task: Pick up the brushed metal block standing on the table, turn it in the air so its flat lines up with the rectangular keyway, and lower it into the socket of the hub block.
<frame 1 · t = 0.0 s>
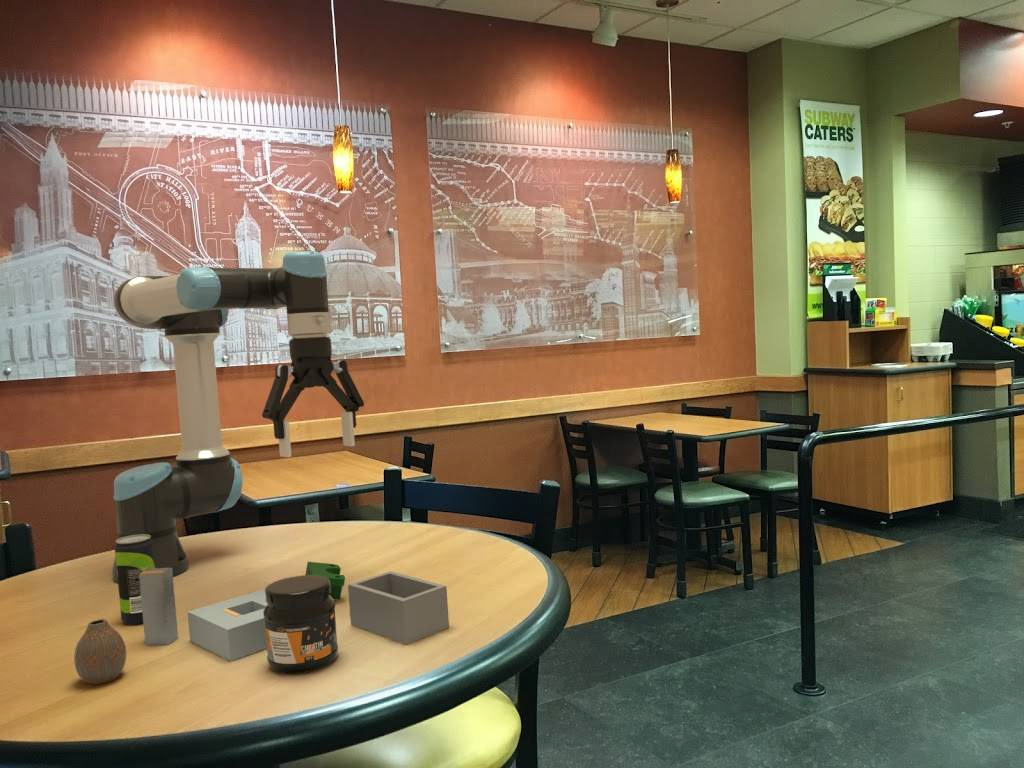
hand: (318, 451, 151), 28 cm above the table, fingers open, 13 cm apart
beverage can: (140, 620, 147), on the table
hub: (249, 637, 135), on the table
supplement container: (303, 662, 124), on the table
vase: (102, 680, 121), on the table
brushed metal block: (162, 641, 136), on the table
green mounting bracket: (325, 598, 154), on the table
gray hollow rectangular box: (399, 626, 136), on the table
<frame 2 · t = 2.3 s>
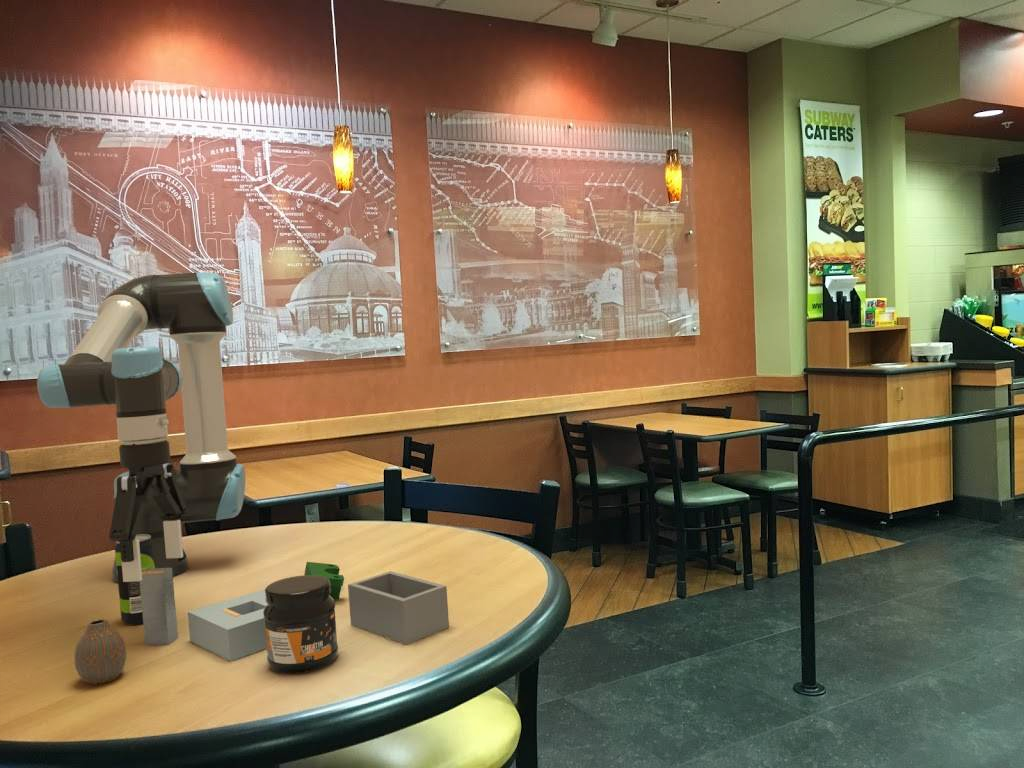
hand: (154, 568, 134), 12 cm above the table, fingers open, 13 cm apart
nothing on the table moved.
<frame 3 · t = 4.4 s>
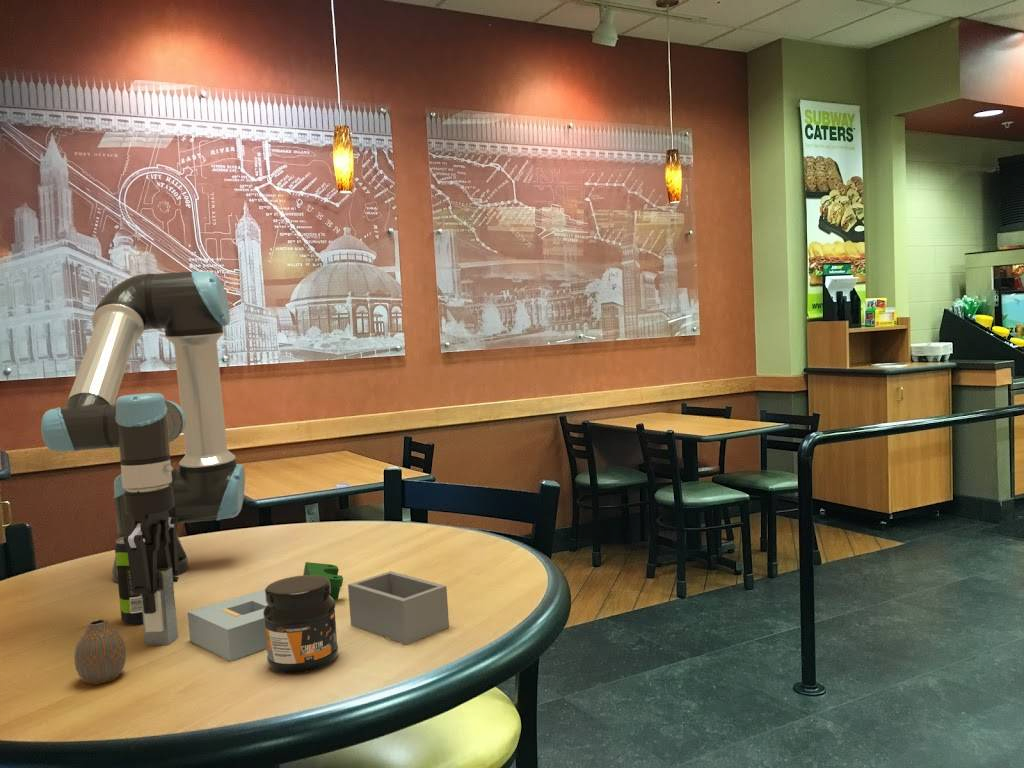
hand: (160, 626, 135), 3 cm above the table, fingers closed on brushed metal block, 3 cm apart
brushed metal block: (162, 641, 136), on the table, touching gripper
everything else where it was.
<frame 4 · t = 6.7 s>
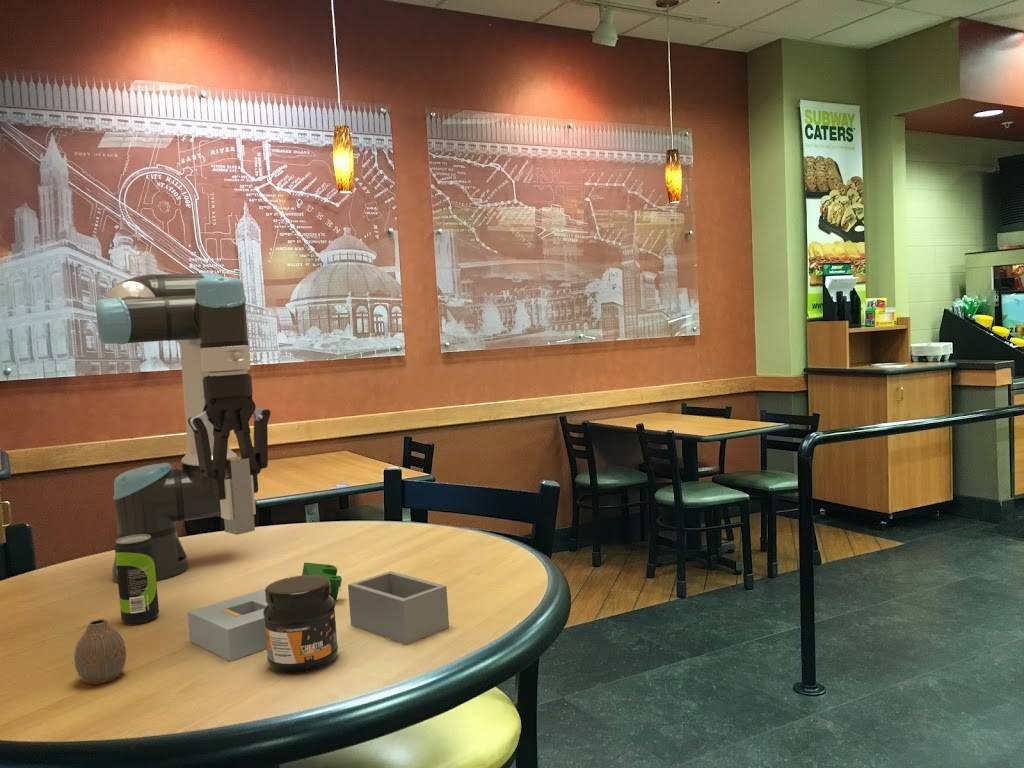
hand: (238, 515, 134), 21 cm above the table, fingers closed on brushed metal block, 3 cm apart
brushed metal block: (240, 531, 134), point 18 cm above the table, touching gripper
everything else where it was.
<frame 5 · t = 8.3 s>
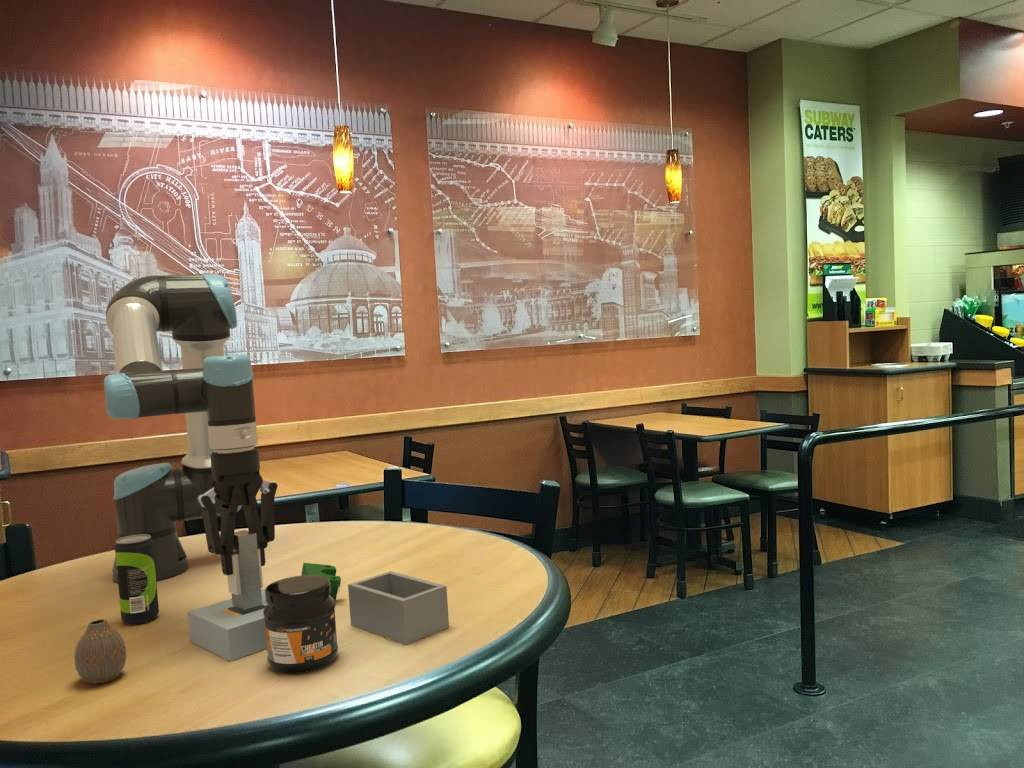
hand: (246, 589, 134), 8 cm above the table, fingers closed on brushed metal block, 3 cm apart
brushed metal block: (247, 604, 135), point 6 cm above the table, touching gripper
everything else where it was.
when the fingers open (6 cm above the table, at t = 9.5 s): brushed metal block drops 3 cm, resting on hub.
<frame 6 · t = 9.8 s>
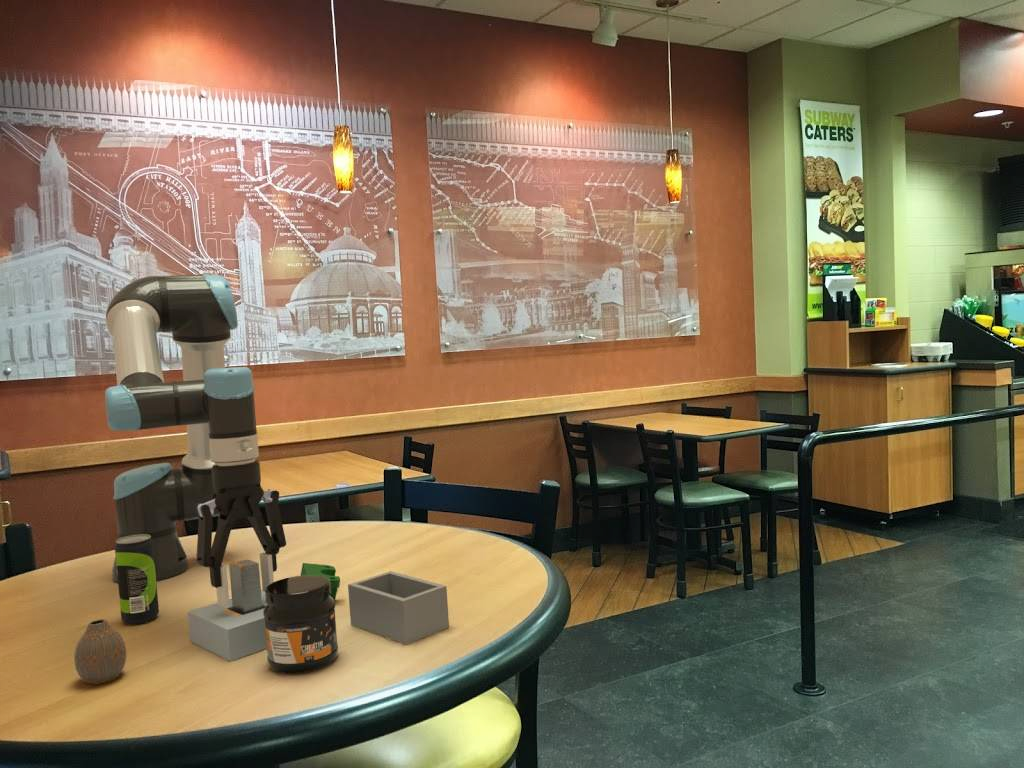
hand: (246, 598, 135), 7 cm above the table, fingers open, 7 cm apart
brushed metal block: (249, 634, 135), resting on hub
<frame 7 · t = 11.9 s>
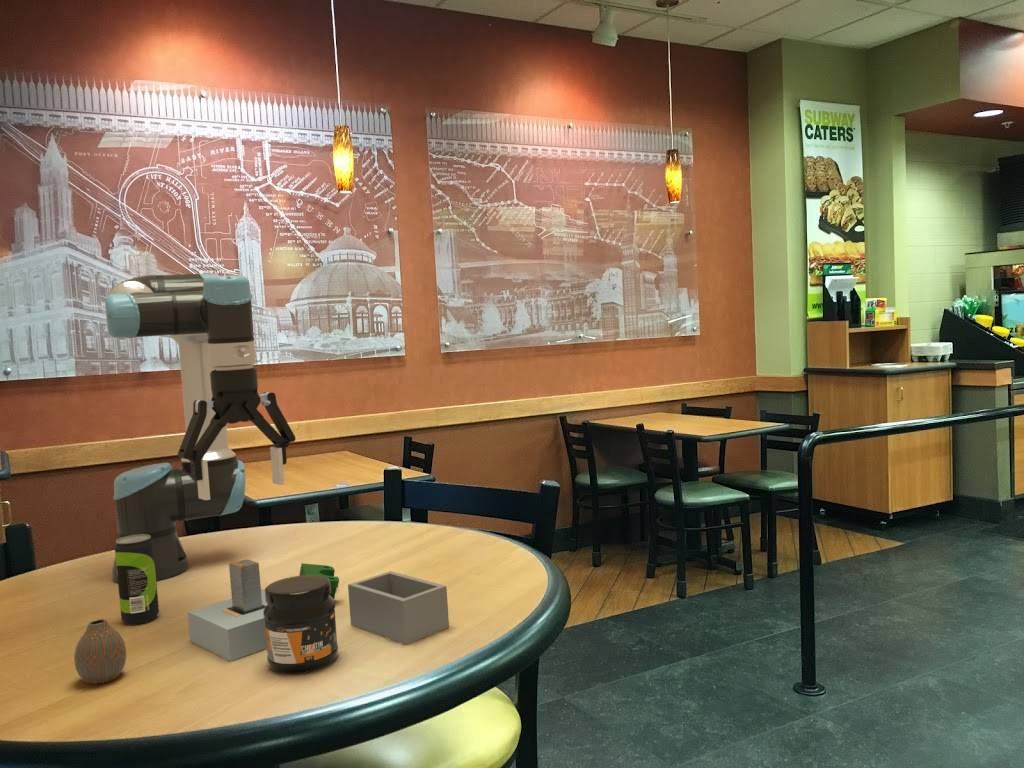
hand: (242, 491, 140), 23 cm above the table, fingers open, 13 cm apart
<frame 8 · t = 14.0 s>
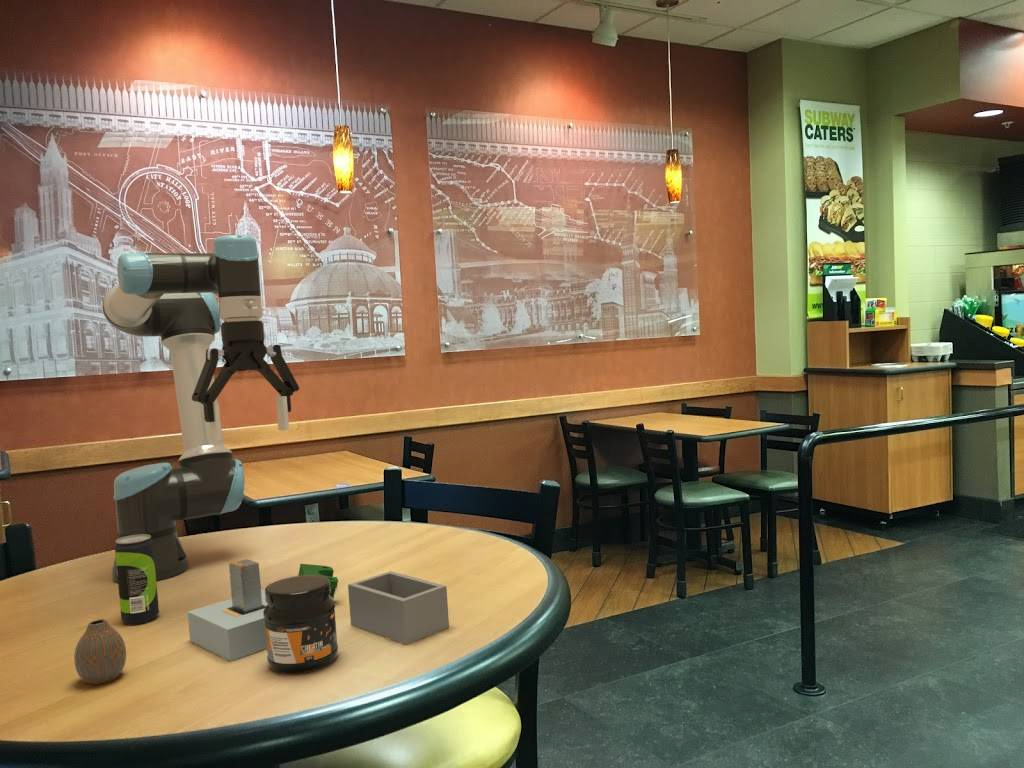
hand: (251, 435, 151), 32 cm above the table, fingers open, 13 cm apart
at the end: brushed metal block 0.0 cm off-centre on the hub, point 0.5 cm above the hub's base; brushed metal block tilted 0°; the gripper is holding nothing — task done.
